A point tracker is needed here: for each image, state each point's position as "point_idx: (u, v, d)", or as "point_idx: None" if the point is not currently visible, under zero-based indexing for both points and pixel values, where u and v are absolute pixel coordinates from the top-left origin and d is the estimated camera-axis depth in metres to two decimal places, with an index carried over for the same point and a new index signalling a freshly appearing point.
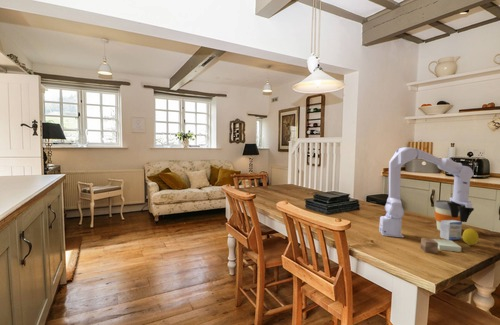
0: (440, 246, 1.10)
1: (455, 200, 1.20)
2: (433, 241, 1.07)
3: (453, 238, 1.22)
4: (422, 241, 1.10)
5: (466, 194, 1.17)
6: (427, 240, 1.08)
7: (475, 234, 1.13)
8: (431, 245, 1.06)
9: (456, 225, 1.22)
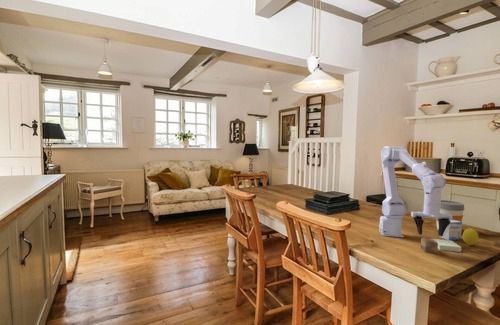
0: (440, 246, 1.10)
1: None
2: (433, 241, 1.07)
3: (453, 238, 1.22)
4: (422, 241, 1.10)
5: (425, 205, 1.07)
6: (427, 240, 1.08)
7: (475, 234, 1.13)
8: (431, 245, 1.06)
9: (456, 225, 1.22)
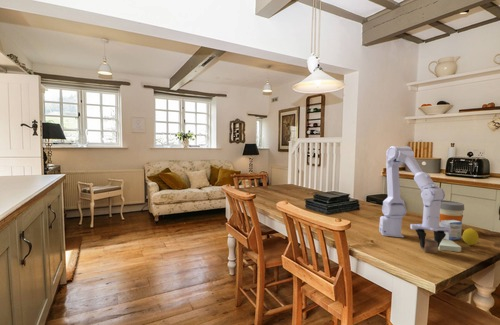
0: (440, 246, 1.10)
1: None
2: (433, 241, 1.07)
3: (453, 238, 1.22)
4: None
5: (424, 218, 1.07)
6: (427, 240, 1.08)
7: (475, 234, 1.13)
8: (431, 245, 1.06)
9: (456, 225, 1.22)
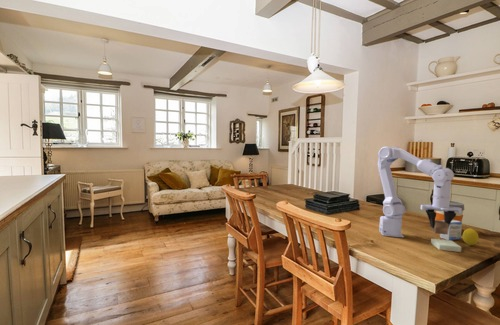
0: (440, 246, 1.10)
1: None
2: (443, 222, 1.09)
3: (453, 238, 1.22)
4: None
5: (435, 198, 1.09)
6: (437, 221, 1.10)
7: (475, 234, 1.13)
8: (441, 226, 1.08)
9: (456, 225, 1.22)
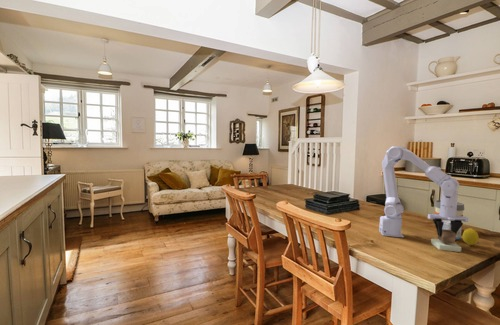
0: (440, 246, 1.10)
1: None
2: (451, 231, 1.11)
3: None
4: None
5: (442, 208, 1.11)
6: (445, 230, 1.12)
7: (475, 234, 1.13)
8: (449, 235, 1.10)
9: None
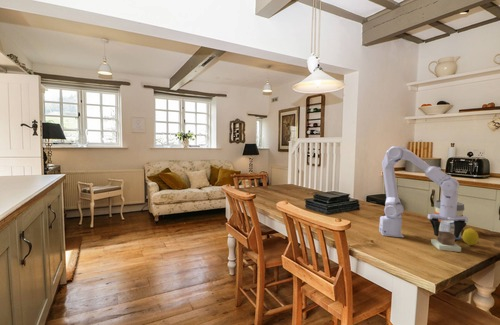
0: (440, 246, 1.10)
1: None
2: (450, 233, 1.11)
3: None
4: (439, 234, 1.14)
5: (442, 208, 1.11)
6: (444, 232, 1.12)
7: (475, 234, 1.13)
8: (448, 237, 1.10)
9: None
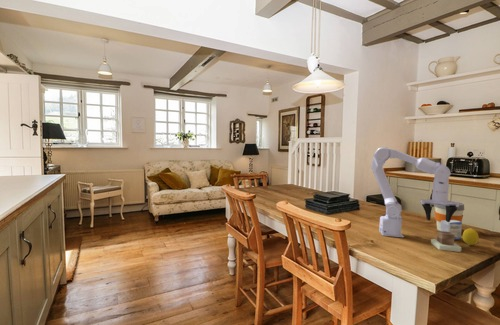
0: (440, 246, 1.10)
1: None
2: (449, 233, 1.11)
3: None
4: (438, 233, 1.14)
5: (434, 193, 1.16)
6: (443, 232, 1.12)
7: (475, 234, 1.13)
8: (447, 237, 1.10)
9: (456, 225, 1.22)
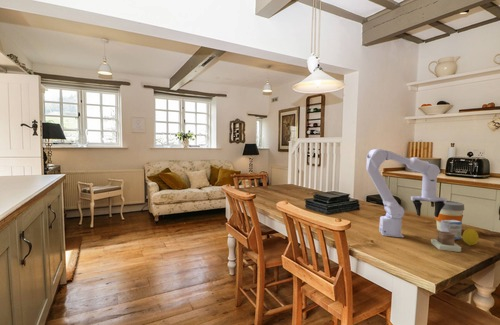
0: (440, 246, 1.10)
1: None
2: (450, 233, 1.11)
3: None
4: (439, 234, 1.14)
5: (423, 190, 1.24)
6: (444, 233, 1.12)
7: (475, 234, 1.13)
8: (448, 237, 1.10)
9: (456, 225, 1.22)
